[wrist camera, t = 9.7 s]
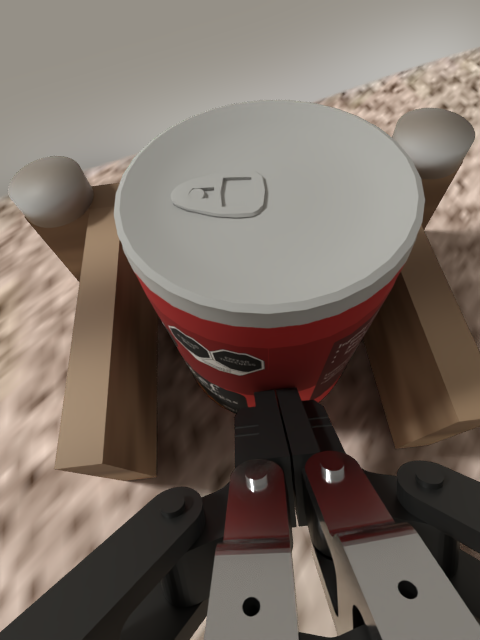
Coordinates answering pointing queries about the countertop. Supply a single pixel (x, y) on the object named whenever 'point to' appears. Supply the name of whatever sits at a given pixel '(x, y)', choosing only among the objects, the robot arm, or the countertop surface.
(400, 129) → the bracket
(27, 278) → the countertop surface
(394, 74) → the countertop surface
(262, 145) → the canned food
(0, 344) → the countertop surface
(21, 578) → the countertop surface
